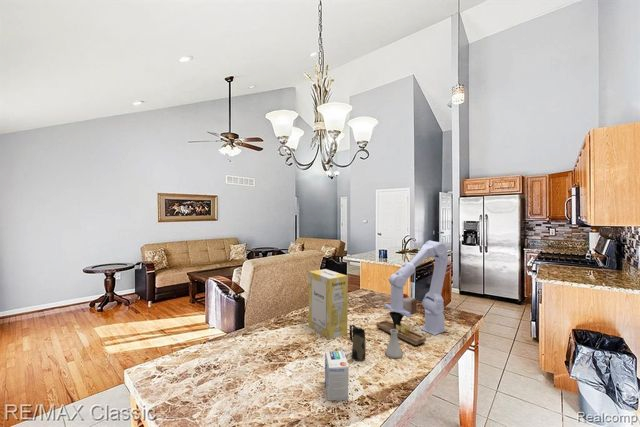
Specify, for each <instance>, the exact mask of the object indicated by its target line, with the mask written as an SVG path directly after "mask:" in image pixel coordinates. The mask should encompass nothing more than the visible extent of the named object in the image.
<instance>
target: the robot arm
mask: <svg viewBox="0 0 640 427" xmlns="http://www.w3.org/2000/svg"><path fill="white" fill-rule="evenodd" d="M448 250H449V248H448V247H447V245H446V244H445V243H444V242H441V241H433V240H427V241H426V242H425V243H424V244H423V245H422V247H421V249H420V250H419V251H418V252H417V253H416V254H415V256H414V257H413V258H412V259H411V261H409V262H404V263H402V266H401V267H400V268H399V269H398V270H396V271H395V273H392V274H391V275H390V277H389V278H388V282H389V284H390V304H388V303H386V304H383V306H384V307H383V308H384V309H385V310H389V311H390V312H389V317H390V318H391V319H392V323H393V324H394V328H396V324H399V323H402V320H403V318H404V316H405V318H410V317H411V314H410V312H408V311H406V310H405V309H403V294H404V287H405V286H406V284H407V281H408V279H409V278H410V277H411V276H412V275H413V274H414V273H415V272H416V267H418V266H419V265H420V264H421V263H422V262H424V260H425V259H427V258H428V257H432V258H433V259H434V260H435V262H434V267H433V270H432V276H431V282H430V286H429V290H428V292H426V293H425V295H424V298H423V299H422V301H421V302H422V303H421V304H422V305H421V306H422V307H423V308H424V326H423V327H421V328H420V330H421V331H424V332H426V333H429V334H431V335H434V336H436V335H438V334H442V333H443V332H446V331H447V329H446V328H445V326H446V325H445V320H446V317H445V314H444V311H445V310H444V309H445V307H444V301H445V300H444V298H443V296H442V291H443V286H444V282H445V277H446V272H447V267H448V263H449V256H448Z"/></svg>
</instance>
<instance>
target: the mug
mask: <svg viewBox="0 0 640 427" xmlns="http://www.w3.org/2000/svg"><path fill="white" fill-rule="evenodd" d="M348 330H349V339H350V342H351V343H352V345H351V347H352V348H351V349H352V350H351V359H352V360H353V361H355V362H363V361H365V360H366V349H367V348H366V346H367V344H366V331H365V329H363V328H359V327H357V326H356V325H354V324H350V325H349V328H348Z"/></svg>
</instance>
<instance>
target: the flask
mask: <svg viewBox="0 0 640 427" xmlns="http://www.w3.org/2000/svg"><path fill="white" fill-rule="evenodd" d="M390 332H391V333H390V337H389V338H390V339H389V340H388V344H387V347H386V349H385V351H384V354H385V356H386V357H387V358H391V359H393V360H396V359H402V358H403V354H404V353H403V351H402V349H401V345H400V341H399V338H398V337H397V333H398V331H397V330H395V329H391V330H390Z"/></svg>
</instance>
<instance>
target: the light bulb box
mask: <svg viewBox="0 0 640 427" xmlns="http://www.w3.org/2000/svg"><path fill="white" fill-rule="evenodd" d="M349 371H350V369H349V364H348V360H347V358H346V355H345V351H344V350H334V351H333V350H332V351H331V350H330V351H325V352H324V384H325V385H324V386H325V390H326V391H325V392H326V398H327V401H328V400H336V401H349V374H350V373H349Z"/></svg>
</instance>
